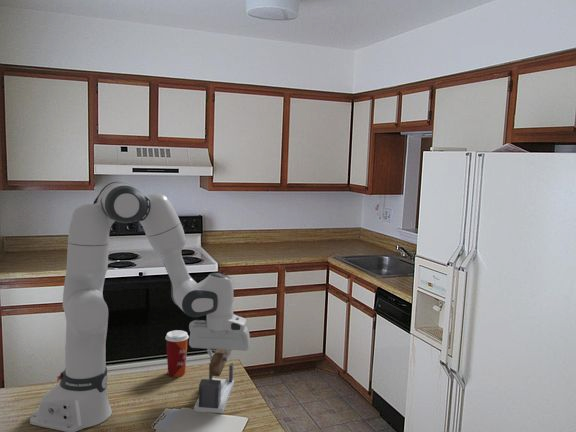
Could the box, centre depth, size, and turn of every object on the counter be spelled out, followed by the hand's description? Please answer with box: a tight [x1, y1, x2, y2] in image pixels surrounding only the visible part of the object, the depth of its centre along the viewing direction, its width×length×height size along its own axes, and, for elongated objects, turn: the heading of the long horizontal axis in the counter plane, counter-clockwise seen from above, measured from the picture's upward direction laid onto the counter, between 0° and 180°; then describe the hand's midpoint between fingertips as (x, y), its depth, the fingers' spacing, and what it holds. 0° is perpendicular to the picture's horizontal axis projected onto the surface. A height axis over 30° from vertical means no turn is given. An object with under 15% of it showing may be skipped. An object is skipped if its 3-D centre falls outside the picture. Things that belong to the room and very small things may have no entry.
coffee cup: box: [165, 329, 190, 378], centre depth 178 cm, size 8×8×15 cm
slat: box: [209, 349, 228, 377], centre depth 166 cm, size 3×14×5 cm, turn 176°
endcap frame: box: [193, 362, 235, 414], centre depth 162 cm, size 9×20×9 cm, turn 176°
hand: (219, 360), depth 166 cm, fingers closed on slat, 3 cm apart
